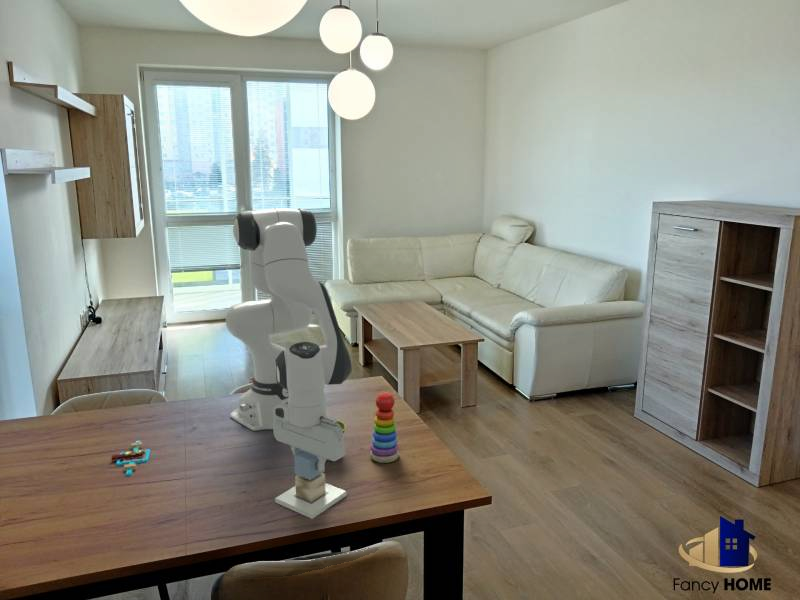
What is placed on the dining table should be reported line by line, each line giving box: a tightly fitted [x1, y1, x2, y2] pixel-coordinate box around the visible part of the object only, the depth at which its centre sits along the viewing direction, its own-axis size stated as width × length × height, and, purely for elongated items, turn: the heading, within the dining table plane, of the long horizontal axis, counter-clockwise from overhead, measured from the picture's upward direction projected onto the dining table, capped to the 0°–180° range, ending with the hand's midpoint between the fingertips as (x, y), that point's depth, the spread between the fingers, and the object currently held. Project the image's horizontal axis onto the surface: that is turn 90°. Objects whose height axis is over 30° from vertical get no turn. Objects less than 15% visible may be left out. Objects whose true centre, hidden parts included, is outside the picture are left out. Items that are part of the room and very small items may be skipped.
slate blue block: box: [293, 449, 326, 480], centre depth 144 cm, size 5×5×5 cm
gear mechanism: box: [111, 440, 151, 477], centre depth 167 cm, size 20×5×9 cm
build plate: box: [274, 482, 347, 520], centre depth 146 cm, size 12×12×1 cm
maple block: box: [294, 472, 326, 502], centre depth 146 cm, size 5×5×5 cm
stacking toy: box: [369, 391, 400, 464], centre depth 165 cm, size 8×8×19 cm
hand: (309, 466), depth 145 cm, fingers closed on slate blue block, 5 cm apart
